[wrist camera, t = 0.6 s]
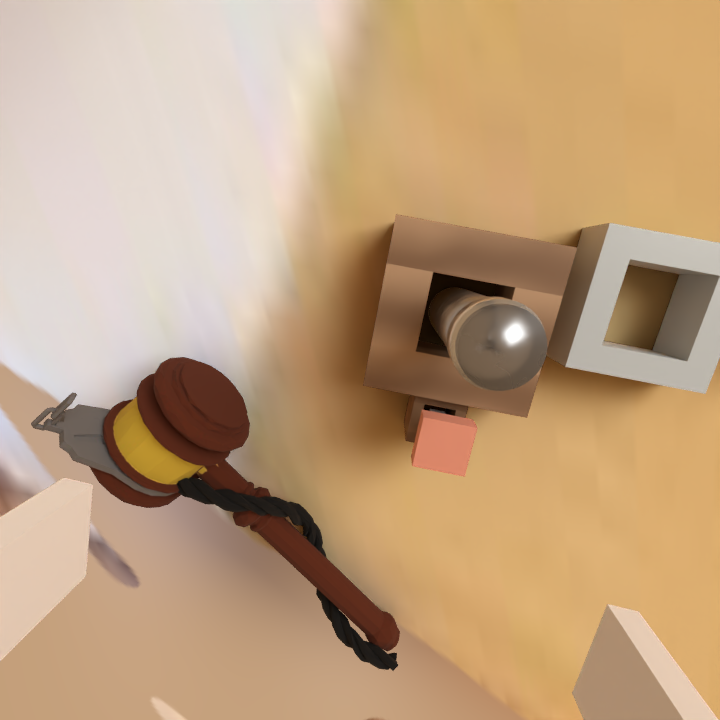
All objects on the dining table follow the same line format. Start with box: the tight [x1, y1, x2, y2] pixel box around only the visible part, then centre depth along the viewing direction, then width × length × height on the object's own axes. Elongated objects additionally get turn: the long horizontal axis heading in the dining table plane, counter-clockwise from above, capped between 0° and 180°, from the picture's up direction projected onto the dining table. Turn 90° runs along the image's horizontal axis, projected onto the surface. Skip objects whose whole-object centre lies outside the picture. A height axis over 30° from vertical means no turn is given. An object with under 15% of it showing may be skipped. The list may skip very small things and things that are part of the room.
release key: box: [411, 409, 477, 476], centre depth 30 cm, size 4×4×6 cm
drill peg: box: [429, 287, 547, 391], centre depth 26 cm, size 4×4×15 cm
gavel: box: [31, 357, 400, 670], centre depth 35 cm, size 10×34×10 cm
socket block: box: [363, 214, 577, 442], centre depth 31 cm, size 16×12×5 cm
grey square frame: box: [546, 223, 720, 394], centre depth 30 cm, size 10×10×4 cm
